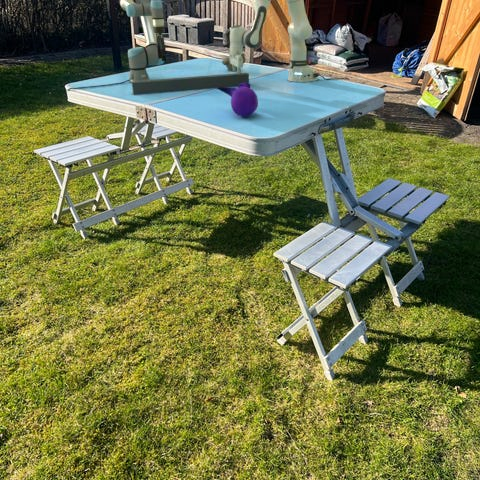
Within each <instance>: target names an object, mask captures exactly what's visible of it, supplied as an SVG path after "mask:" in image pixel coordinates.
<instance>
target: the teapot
mask: <svg viewBox="0 0 480 480" xmlns="http://www.w3.org/2000/svg"><path fill="white" fill-rule="evenodd" d="M241 56H242V57H243V65H244V64H245V62H246V55H245V53H244V52H243V54H242V55H241ZM221 64H222V65H224V66H226V68H227V70H228V71H230V72H232V71H233V67H232V64H230V57H229V56H227V57H226V56H225V57H224V58H222V60H221ZM235 67H236V66H235ZM236 71H237V67H236ZM233 72H234V71H233Z"/></svg>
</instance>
